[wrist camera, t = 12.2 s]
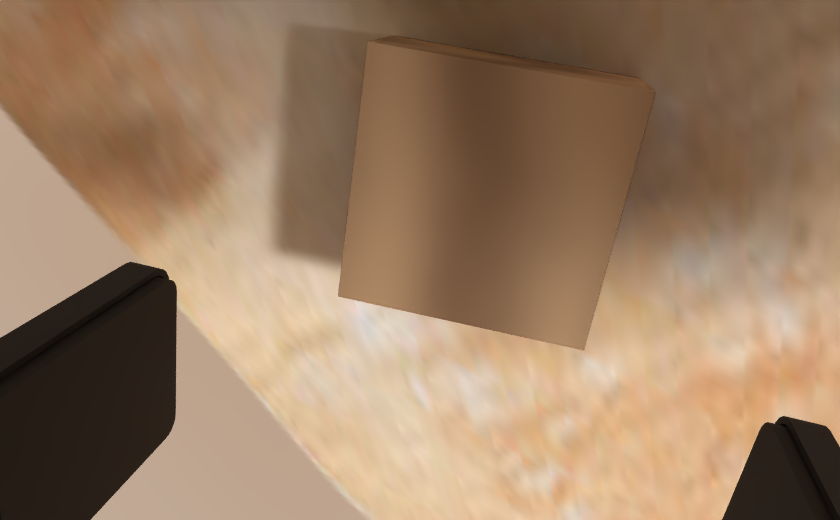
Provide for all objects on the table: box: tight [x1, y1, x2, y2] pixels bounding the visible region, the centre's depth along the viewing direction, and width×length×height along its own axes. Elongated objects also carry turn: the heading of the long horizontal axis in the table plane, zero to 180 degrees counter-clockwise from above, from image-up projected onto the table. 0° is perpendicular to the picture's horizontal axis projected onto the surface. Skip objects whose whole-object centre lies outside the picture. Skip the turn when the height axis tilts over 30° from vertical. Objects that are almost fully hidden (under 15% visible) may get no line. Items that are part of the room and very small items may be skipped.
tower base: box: [338, 36, 655, 350], centre depth 24 cm, size 9×9×4 cm
